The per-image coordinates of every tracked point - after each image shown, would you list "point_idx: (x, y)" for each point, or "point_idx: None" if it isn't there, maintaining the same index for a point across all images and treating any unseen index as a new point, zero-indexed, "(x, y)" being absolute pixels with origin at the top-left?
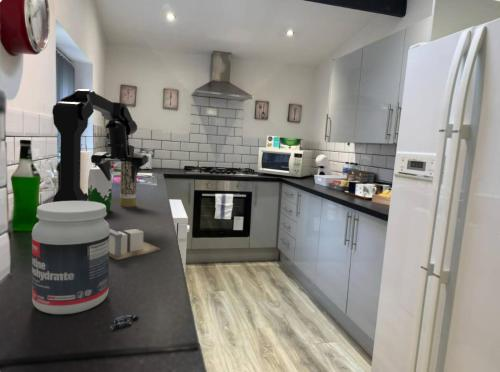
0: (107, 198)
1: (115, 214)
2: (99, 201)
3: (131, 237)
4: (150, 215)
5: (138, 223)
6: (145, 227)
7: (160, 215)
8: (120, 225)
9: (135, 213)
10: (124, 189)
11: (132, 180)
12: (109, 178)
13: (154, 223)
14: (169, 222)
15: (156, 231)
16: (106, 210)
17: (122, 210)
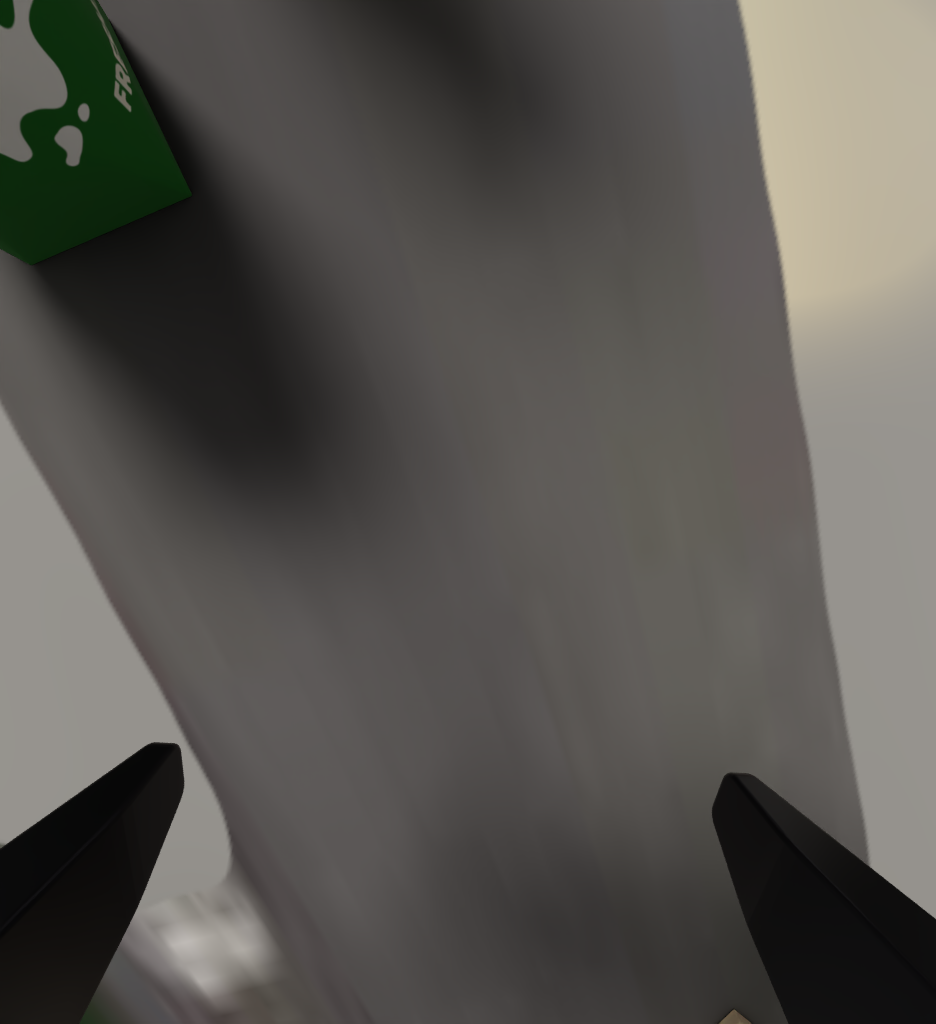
0: (78, 122)
1: (288, 277)
2: (23, 198)
3: None
4: (609, 238)
5: (584, 569)
6: (662, 673)
7: (698, 213)
8: (476, 662)
9: (451, 178)
10: None
11: (737, 888)
12: (154, 831)
13: (701, 539)
14: (807, 476)
15: (753, 755)
16: (158, 201)
17: (276, 50)
